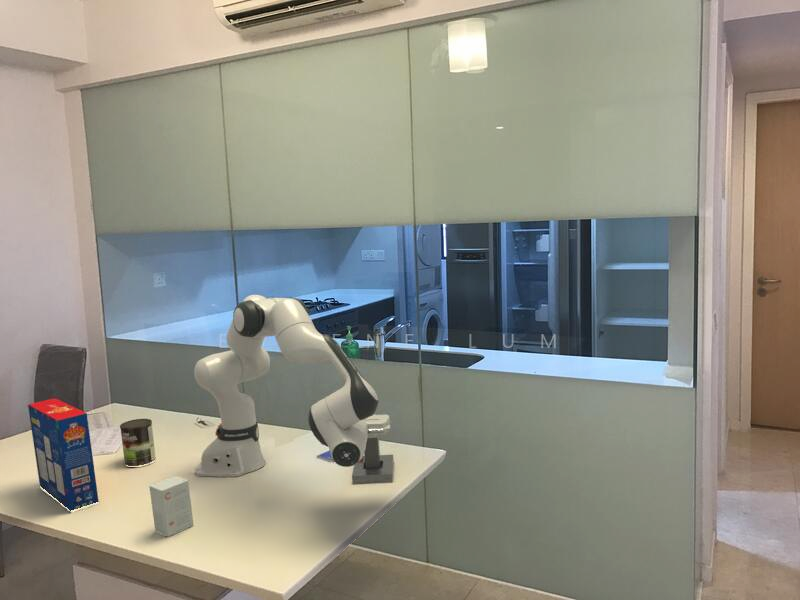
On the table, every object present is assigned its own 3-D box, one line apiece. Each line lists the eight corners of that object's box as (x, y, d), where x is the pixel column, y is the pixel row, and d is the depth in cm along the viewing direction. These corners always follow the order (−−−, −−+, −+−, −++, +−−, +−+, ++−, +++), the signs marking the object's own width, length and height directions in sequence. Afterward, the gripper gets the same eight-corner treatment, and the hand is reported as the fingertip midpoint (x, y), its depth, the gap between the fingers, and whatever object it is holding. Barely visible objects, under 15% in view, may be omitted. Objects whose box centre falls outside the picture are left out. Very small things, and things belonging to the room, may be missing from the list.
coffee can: (141, 469, 228) (136, 428, 226) (118, 466, 232) (112, 427, 230) (162, 458, 237) (158, 419, 235) (139, 455, 241) (135, 417, 239)
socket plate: (352, 484, 204) (351, 473, 203) (356, 463, 220) (356, 454, 219) (392, 481, 203) (391, 471, 203) (393, 461, 219) (393, 452, 219)
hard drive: (333, 460, 222) (359, 448, 231) (316, 455, 227) (343, 443, 236) (333, 464, 222) (360, 452, 231) (316, 459, 227) (343, 448, 237)
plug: (365, 475, 209) (363, 438, 208) (367, 470, 214) (364, 433, 212) (380, 475, 209) (377, 437, 208) (380, 469, 214) (378, 432, 212)
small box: (181, 520, 187) (175, 475, 186) (194, 525, 183) (189, 479, 181) (154, 531, 181) (148, 485, 179) (167, 538, 177) (161, 490, 175)
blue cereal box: (98, 503, 202) (86, 413, 198) (70, 513, 197) (57, 420, 193) (66, 480, 222) (55, 398, 218) (40, 489, 217) (27, 404, 213)
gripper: (389, 420, 183) (391, 404, 196) (313, 422, 183) (320, 406, 197) (390, 442, 184) (392, 424, 197) (315, 445, 184) (321, 427, 198)
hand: (355, 415), depth 197 cm, fingers open, 8 cm apart
